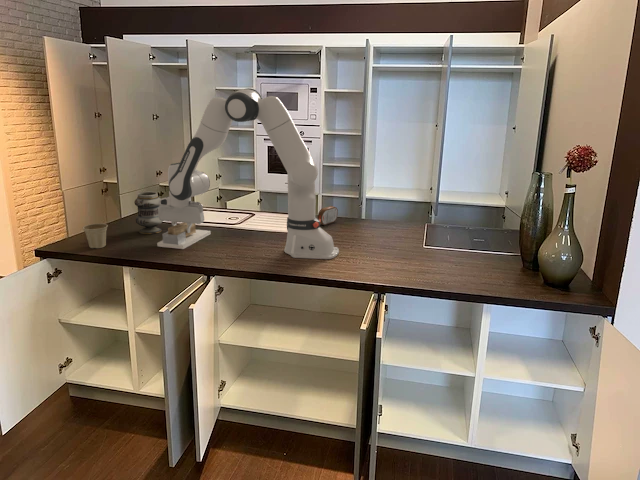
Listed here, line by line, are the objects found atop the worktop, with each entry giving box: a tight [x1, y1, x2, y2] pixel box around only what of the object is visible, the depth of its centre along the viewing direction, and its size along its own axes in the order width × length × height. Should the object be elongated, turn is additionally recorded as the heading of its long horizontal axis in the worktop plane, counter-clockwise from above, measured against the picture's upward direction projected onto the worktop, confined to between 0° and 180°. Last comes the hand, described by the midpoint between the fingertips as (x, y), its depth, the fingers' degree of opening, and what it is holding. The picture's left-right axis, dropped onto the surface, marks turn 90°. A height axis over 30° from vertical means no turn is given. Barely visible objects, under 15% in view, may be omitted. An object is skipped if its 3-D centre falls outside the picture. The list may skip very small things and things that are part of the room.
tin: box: [316, 205, 339, 226], centre depth 243 cm, size 15×3×8 cm, turn 144°
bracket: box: [156, 229, 212, 250], centre depth 211 cm, size 12×24×6 cm, turn 165°
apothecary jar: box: [134, 191, 164, 235], centre depth 221 cm, size 12×12×18 cm
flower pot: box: [82, 223, 109, 249], centre depth 199 cm, size 9×9×9 cm
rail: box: [167, 222, 197, 236], centre depth 208 cm, size 4×14×5 cm, turn 158°
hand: (182, 232), depth 209 cm, fingers closed on rail, 4 cm apart
